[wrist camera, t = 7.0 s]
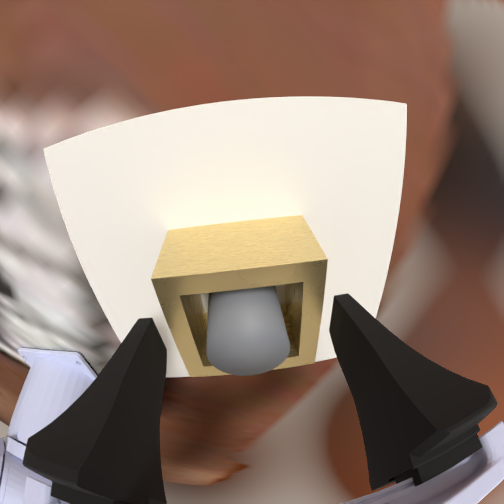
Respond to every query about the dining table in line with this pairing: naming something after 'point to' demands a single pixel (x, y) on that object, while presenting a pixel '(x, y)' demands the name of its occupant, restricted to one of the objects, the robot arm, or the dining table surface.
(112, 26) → the dining table surface
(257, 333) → the post stand
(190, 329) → the wooden square ring
